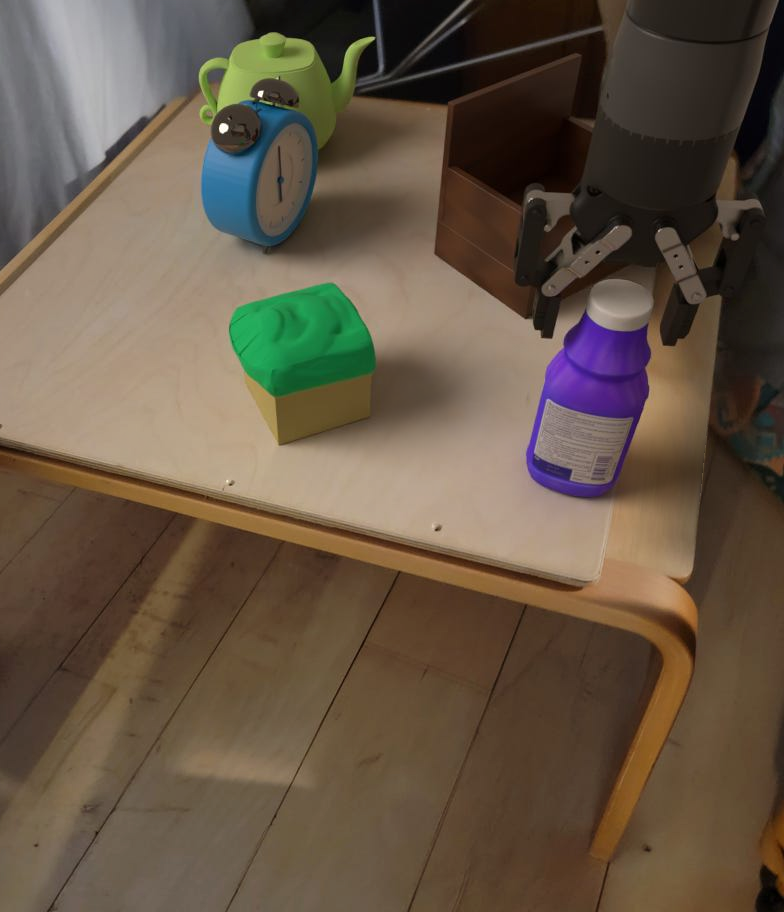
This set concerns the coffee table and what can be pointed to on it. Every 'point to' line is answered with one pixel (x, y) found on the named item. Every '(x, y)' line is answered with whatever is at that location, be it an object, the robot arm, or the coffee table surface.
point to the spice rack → (510, 176)
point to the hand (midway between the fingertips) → (606, 334)
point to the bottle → (593, 393)
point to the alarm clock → (260, 165)
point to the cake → (305, 360)
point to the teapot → (285, 78)
